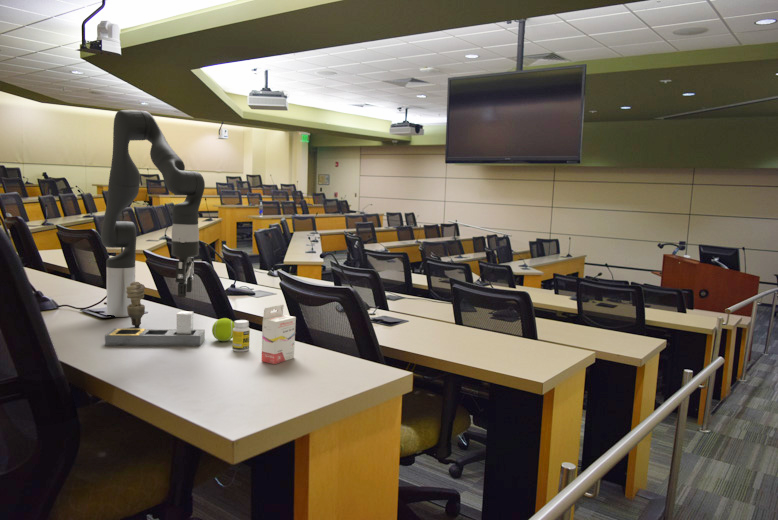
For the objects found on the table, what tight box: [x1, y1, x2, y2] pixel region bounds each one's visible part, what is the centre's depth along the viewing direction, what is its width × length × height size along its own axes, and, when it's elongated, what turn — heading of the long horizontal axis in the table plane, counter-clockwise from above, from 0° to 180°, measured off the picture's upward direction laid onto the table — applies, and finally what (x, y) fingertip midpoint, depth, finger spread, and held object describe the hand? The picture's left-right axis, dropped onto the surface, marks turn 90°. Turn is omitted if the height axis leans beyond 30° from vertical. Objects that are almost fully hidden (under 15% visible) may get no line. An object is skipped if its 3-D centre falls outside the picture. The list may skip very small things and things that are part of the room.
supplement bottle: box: [232, 319, 251, 353], centre depth 161 cm, size 5×5×8 cm
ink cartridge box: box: [261, 304, 297, 365], centre depth 152 cm, size 9×5×15 cm, turn 152°
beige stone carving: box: [126, 281, 146, 328], centre depth 181 cm, size 6×6×15 cm
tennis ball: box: [211, 317, 235, 342], centre depth 170 cm, size 7×7×7 cm
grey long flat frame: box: [104, 328, 206, 347], centre depth 165 cm, size 8×26×3 cm, turn 99°
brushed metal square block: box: [176, 310, 194, 335], centre depth 166 cm, size 4×4×9 cm
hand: (185, 294), depth 165 cm, fingers open, 8 cm apart
